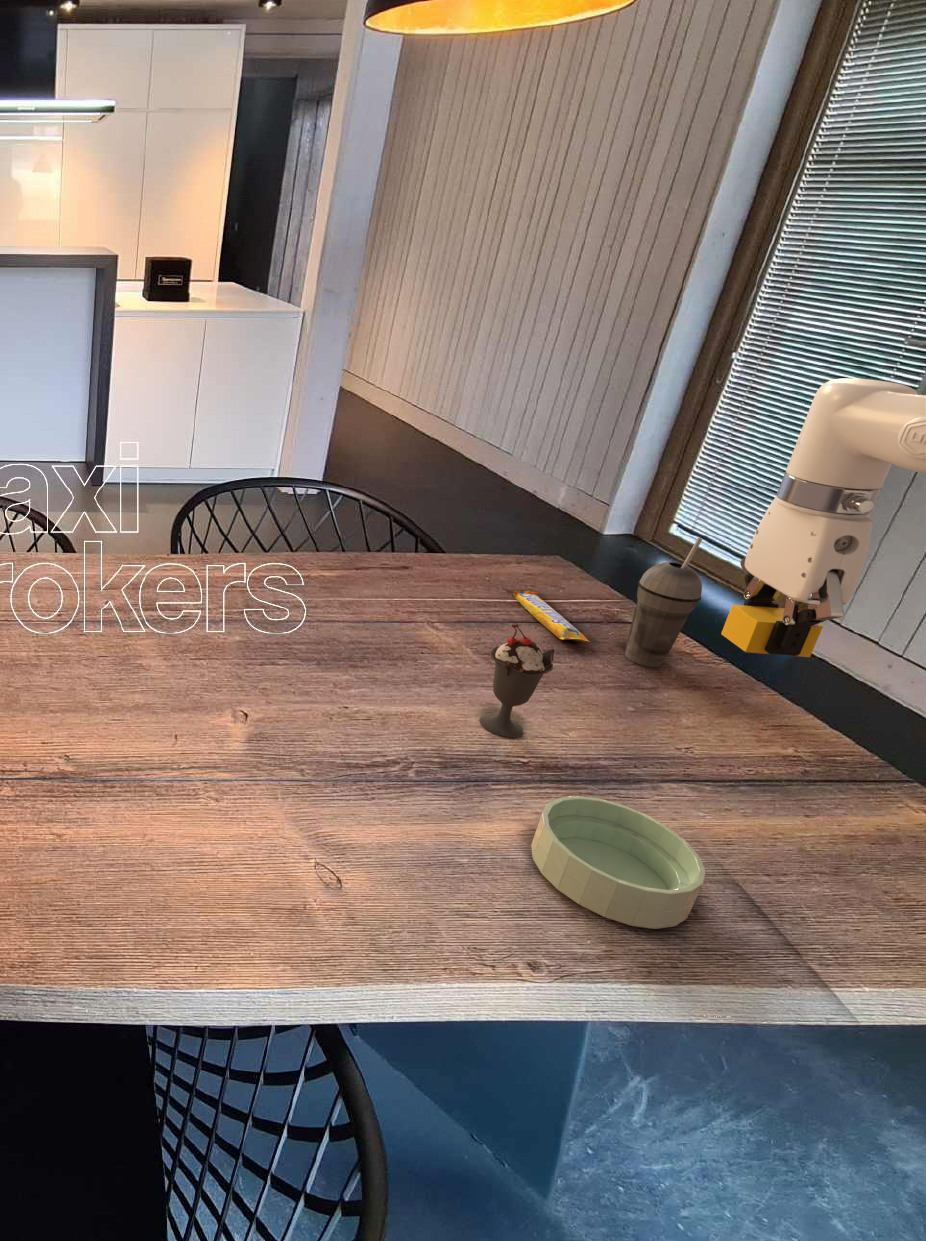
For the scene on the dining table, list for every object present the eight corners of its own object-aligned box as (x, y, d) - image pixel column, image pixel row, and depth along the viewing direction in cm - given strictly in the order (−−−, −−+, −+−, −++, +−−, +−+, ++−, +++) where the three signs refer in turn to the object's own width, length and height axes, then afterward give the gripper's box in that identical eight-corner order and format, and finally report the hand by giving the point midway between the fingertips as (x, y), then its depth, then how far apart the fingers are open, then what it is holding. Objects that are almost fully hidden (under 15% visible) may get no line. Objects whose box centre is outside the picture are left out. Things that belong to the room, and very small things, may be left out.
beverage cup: (621, 641, 126) (664, 522, 119) (679, 660, 121) (728, 537, 113) (607, 657, 122) (650, 534, 114) (666, 677, 117) (716, 550, 109)
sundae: (460, 719, 107) (488, 619, 101) (492, 706, 110) (521, 608, 104) (509, 747, 102) (542, 643, 96) (541, 733, 105) (575, 631, 99)
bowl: (640, 841, 87) (655, 804, 85) (719, 942, 75) (738, 902, 73) (508, 825, 89) (520, 789, 87) (565, 922, 77) (581, 882, 75)
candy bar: (508, 597, 140) (511, 587, 139) (534, 598, 140) (537, 589, 139) (561, 647, 125) (564, 636, 124) (590, 649, 124) (593, 638, 123)
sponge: (782, 638, 97) (794, 608, 95) (810, 657, 93) (823, 626, 91) (720, 634, 98) (732, 604, 96) (745, 652, 94) (757, 621, 92)
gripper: (935, 525, 80) (860, 684, 87) (807, 474, 96) (752, 612, 102) (847, 520, 81) (780, 677, 88) (735, 470, 97) (685, 607, 104)
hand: (765, 641), depth 95 cm, fingers closed on sponge, 4 cm apart
